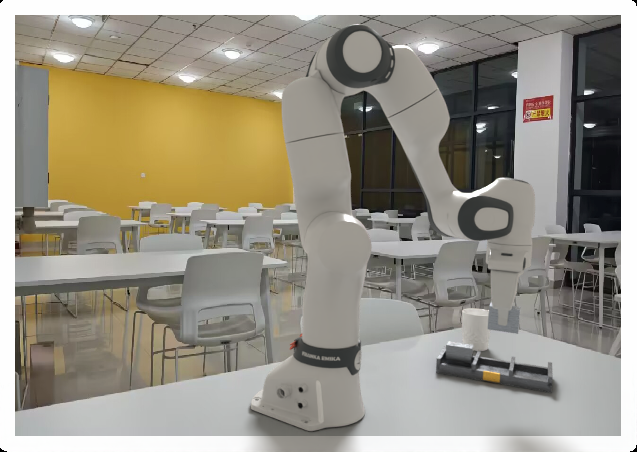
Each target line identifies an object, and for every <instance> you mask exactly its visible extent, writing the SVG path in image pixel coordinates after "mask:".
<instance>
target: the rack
mask: <svg viewBox="0 0 637 452" xmlns="http://www.w3.org/2000/svg"><path fill="white" fill-rule="evenodd" d="M473 347H474V345H470V344H463V343H462V342H457V341H456V342H454V341H448V340H447V342H446V345H445V346H443V347H442V349H441V350H440V352H439V354H438V356H437V358H436V363H435V365H436V366H435V373H436V374H441V375H442V374H443V375H448V376H453V377H459V378H465V379H470V380H475V379H476V381H482V382H487V383H493V384H499V385H504V386H510V387H517V388H522V389H527V390H528V389H529V390H534V391H539V392H545V393H552V391H553V378H554V377H553V375H554V374H553V362H551V361H548V362H547V366H543V365H542V366H541V365H535V364H529V363H523V362H516V356H511V357H510V358H511V359H510V361H509V360H504V359H497V358H491V357H484V356H481V355H482V351H476V354H475V355H474V351H473Z"/></svg>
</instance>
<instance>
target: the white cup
mask: <svg viewBox="0 0 637 452" xmlns="http://www.w3.org/2000/svg"><path fill="white" fill-rule="evenodd" d="M488 315H489V309H488V310H487V309H484V308H483V309H482V308H473V307H470V308H464V309H462V311H461V335H462V341H461V343H463V344H470V345H474V347H473V352H477V351H479V352H485V351H487V350H488V349H489V342H490V337H491V331H492V330H489V329H488Z"/></svg>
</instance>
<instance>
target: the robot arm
mask: <svg viewBox="0 0 637 452" xmlns="http://www.w3.org/2000/svg"><path fill="white" fill-rule="evenodd" d="M363 91H365V92H367V93H369V94H370V95H371V96H373V97H374V99H375V100H376V101H377V102H378V103H379V105H380V107H381V109H382V111H383V113H384V115H385V117H386V119H387V121H388V122H389V124H390V127H391V128H392V130H393V131H394V133H395V135H396V137H397V139H398V141H399V143H400V144H401V147H402V149H403V151H404V153H405V155H406V159H407V160H408V163H409V165H410V167H411V169H412V172H413V173H414V177H415V179H416V181H417V182H418V185H419V187H420V190H421V192H422V193H423V195H424V198H425V203H426V209H427V210H426V212H427V218H428V219H427V220H428V223H429V224H430V227H431V228H432V229H433V231H435V232H436V233H437V234H438V235H440V236H442V237H445V238H456V239H461V240H465V241H471V242H481V241H482V242H483V241H486V254H485V264H486V265H487V269H488V270H490V299H491V301H490V303H492V307H493V308H494V309H498V324H499V325H503V326H506V325H507V323H508V313H509V311H510V310H511V309H512V306H514V302H515V298H516V295H517V292H518V284H519V280H520V279H519V278H520V276H523V275H524V273H525V270H526V269H530V268H531V266H532V258H533V257H532V255H533V243H534V242H533V238H532V231H533V227H534V225H535V217H536V197H535V190H534V188H533V187H534V186H532V184H531V183H529V182H528V181H525V180H523V179H517V178H511V177H498V178H496V179H495V180H494V181H493V182H492V183H490V184H488V185H487V186H484V187H482V188H481V189H477V190H475V191H472V192H462V191H460V190H458V189H457V188H456V187H455V186H454V184H452V181H451V179H450V176H449V174H448V172H447V170H446V168H445V166H444V163H443V160H442V158H441V156H440V151H439V150H440V148H439V147H440V143H441V140H442V139H443V138H444V136H445V134H446V132H447V131H448V128H449V125H450V120H451V118H450V113H449V110H448V109H449V108H448V106H447V104H446V101H445V98H444V97H443V94H442V93H441V91H440V89H439V87H438V85H437V83H436V81H435V80H434V78H433V76H432V75H431V73H430V71H429V70H428V68H427V67H426V66H425V64H424V62H422V60H421V58H420V57H419V56H418V55H417V54H416V52H415V51H414V50H413V49H412V48H410V47H409V46H406V45H395V46H393V44H392V43H390V42H389V41H387V40H386V39H384V38H383V36H382V35H381V34H380V33H379V32H378V31H376V30H375V29H374V28H372V27H370V26H368V25H366V24H360V23H359V24H358V23H357V24H351V25H347V26H344V27H342V28H339V30H337V31H336V32H335V33H334V34H333V35H332V36H330V37H329V38H327V39H326V40H325V41H324V42H323V43H322V44H321V45H320V47H319V48H318V50H317V51H316V52H315V53H314V54H313V55H312V58H311V60H310V61H309V64H308V68H307V72H306V73H305V76H304V77H300V78H297V79H294V80H293V81H291V82H290V83H289V84H288V85H286V86H285V87H284V89H283V91H282V94H281V120H282V121H281V122H282V130H283V138H284V144H285V149H286V154H287V160H288V165H289V170H290V175H291V180H292V188H293V195H294V204H295V210H296V218H297V224H298V232H299V237H300V244H301V247H302V249H303V250H304V252H305V253H306V255H307V265H306V266H307V268H306V276H305V277H306V278H305V285H304V286H305V287H304V293H303V297H302V325H301V328H302V329H301V334H300V335H299V337H296V338H295V339H293V342H291V343H289V346H290V347H289V350H290V351H292V350H293V354H292V355H290V356H289V357H288V358H286V359H284V360H283V361H282V362H280V363H279V364H277V365H276V366H274V367H273V368H272V369H271V370H270V371H269V372H268V373H267V374H266V376H265V379H264V383H263V387H262V388H261V389H260V390H259V391H258V392H257V393H256V394H255V395H254V396H253V397H252V398H251V401H250V409H251V410H252V411H254V412H256V413H260V414H263V415H265V416H268V417H270V418H272V419H275V420H279V421H281V422H284V423H287V424H289V425H292V426H295V427H297V428H300V429H302V430H305V431H309V432H313V431H318V430H323V429H325V428H335V427H337V428H338V427H345V426H349V425H351V424H354V423H357V422H359V421H360V420H361V419H363V417H364V416H365V414H366V409H365V405H364V401H363V395H362V389H361V380H360V370H361V365H362V341H361V339H360V325H361V324H360V322H361V321H360V320H361V301H362V300H361V299H362V294H363V290H364V285H365V280H366V275H367V274H366V273H367V268H368V262H369V260H370V257H371V255H372V248H373V247H372V240H371V238H370V237H371V236H370V235H369V232H368V230H367V228H366V227H365V225H364V224H363V223H362V221H360V220H359V219H358V218H356V217H355V216H354V215H353V210H352V208H353V207H352V197H351V196H352V195H351V194H352V192H351V190H352V189H351V188H352V187H351V182H352V181H351V180H352V173H351V172H352V171H351V167H350V161H349V155H348V149H347V142H346V139H345V138H346V137H345V132H344V127H343V123H342V122H343V121H342V119H341V115H342V113H341V109H342V103H343V100H345V99H346V98H348V97H349V96H354V95H356V94H359V93H361V92H363Z"/></svg>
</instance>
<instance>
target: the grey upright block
mask: <svg viewBox="0 0 637 452" xmlns="http://www.w3.org/2000/svg"><path fill="white" fill-rule="evenodd" d="M521 308H522V306H516V305H513V306H512V309H511V310H510V311H509V313H508V323H507V325H506V326H503V325H499V324H498V309H494V308H493V307H492V302H490V304H489V305H488V311H489V315H488V329H489V330H491V331H496V332H504V333H510V334H515V335H518V334H519V330H520V320H521V319H520V318H521Z"/></svg>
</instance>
